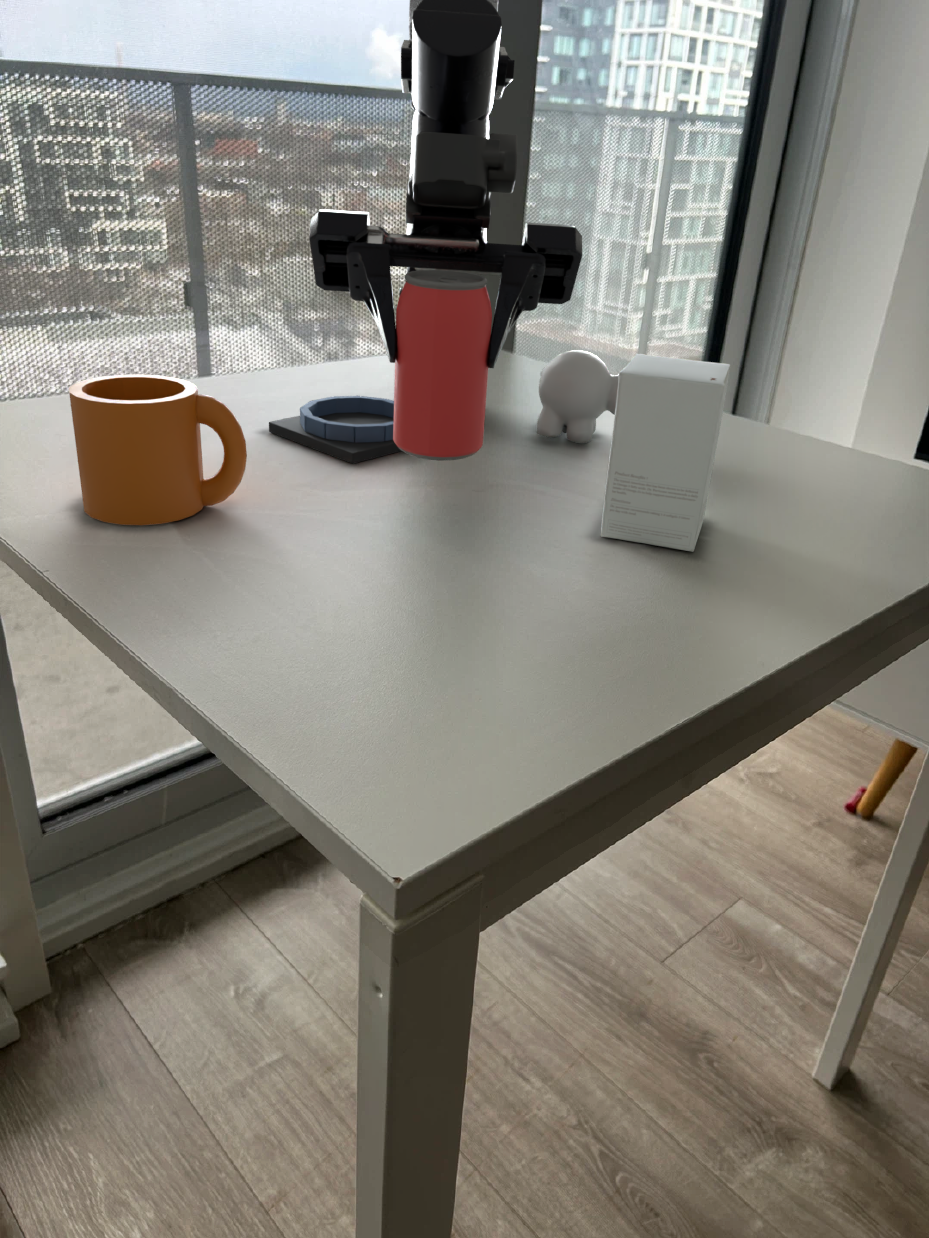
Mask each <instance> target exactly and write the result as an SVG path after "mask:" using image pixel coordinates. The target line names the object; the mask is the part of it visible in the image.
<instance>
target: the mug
mask: <svg viewBox="0 0 929 1238" xmlns="http://www.w3.org/2000/svg"><path fill="white" fill-rule="evenodd" d="M68 394H69V401H70V409H71V417H72V418H71V419H72V425H73V426H72V427H73V434H74V441H75V449H76V450H75V451H76V457H77V458H76V459H77V466H78V472H79V482H80V487H81V496H82V505H83V511H84V513H85V514H86V515H88V516H89V517H90V518H92V519H93V520H94V519H95V520H98V521H101V522H103V523H108V524H115V525H121V526H123V525H124V526H151V525H162V524H167V523H172V522H177V521H180V520H184V519H186V518H189V517H192V516H195V515H196V514H197V513H199V512H200V511H202V510H203V508H204V507H210V506H211V507H212V506H215V505H218V504H220V503H222V502H224V501H225V500H227V499H228V498H229V497H231V496H232V495H233V494H234V493H235V491H236V490H237V488H238V487H239V486H240V485H241V482H242V479H243V477H244V475H245V471H246V468H247V467H246V465H247V459H248V454H247V453H248V452H247V451H248V450H247V442H246V438H245V435H244V431H243V429H242V425H241V424H240V422H239V419H237V417H236V415H235V413H234V412H233V411H232V410H231V409H230V408H229V407H228V406H227V405H226V404H225V403H223V402H222V401H220V400H219V399H218V398H215V397H214V396H211V395H206V394H202V393H199V390H198V387H197V385H196V384H195V383H194V382H191V381H189V380H186V379H182V378H179V377H175V376H165V375H158V374H137V373H135V374H114V375H113V374H112V375H104V376H103V375H102V376H97V377H92V378H86V379H82V380H80V381H77V382H74V383H73V384H72V385H70V386H69V387H68ZM201 425H205V426H207V427H209V428H210V429H212V430H213V431H214V432H215V433H216V434H217V436H218V438H219V439H220V441H221V444H222V447H223V459H222V463H221V466H220V468H219V470H217V472H216V473H214V475H213V476H210V477H209V478H208V477H207V478H204V464H203V451H202V449H203V448H202V435H201Z"/></svg>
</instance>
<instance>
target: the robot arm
mask: <svg viewBox="0 0 929 1238" xmlns="http://www.w3.org/2000/svg"><path fill="white" fill-rule="evenodd" d="M408 5H409V7H408V10H409V11H408V39H404V40H403V42H402V45H401V47H400V81H401V89H402V93H403V94H410V95H411V108H412V109H413V111H414V113H413V117H412V129H411V147H410V148H411V149H410V153H411V154H410V166H409V167H410V169H409V180H408V181H407V183H406V197H405V224H407V225H406V234H404V233H390V232H388V231H387V230H386V229H385V228H384V227H382V226H379V225H371V220H370V212H369V211H355V210H354V211H353V210H336V209H322V208H321V209H319V210H318V211H317V212H316V213H315V214H314V215H313V216H312V217H311V218H310V225H309V226H310V227H309V237H308V240H309V247H310V254H311V261H312V268H313V273H314V274H313V275H314V280H315V285H316V286H317V287H318V288H320V289H322V290H323V291H329V292H345V293H347V292H348V293H349V297H350V298H351V299H352V300H354V301H357V302H363V303H364V305H365V306H366V308H367V310H368V311H369V313H370V315H371V317H372V319H373V320H374V322H375V324H376V327H377V330H378V333H379V335H380V338H381V341H382V344H383V346H384V350H385V353H386V355H387V358H388V361H389V363H391V364H395V362H396V314H395V306H394V295H393V294H394V293H393V283H392V269H391V267H397V268H398V267H399V268H400V267H401V268H407V270H406V274H407V273H408V272H411V271H418V270H449V271H460V272H467V273H473V274H477V275H480V276H492V277H493V276H494V277H500V280H499V286H498V293H497V297H496V302H495V309H494V315H493V319H492V324H491V337H490V345H489V359H488V369H494V368H495V367H496V364H497V362H498V360H499V357H500V354H501V352H502V349H503V347H504V345H505V342H506V340H507V338H508V335H509V334H510V332H511V330H512V329H513V327H514V325H515V324H516V323H517V321H518V319H519V318H520V316H521V315H522V313H523V312H533V311H534V310H536V309H537V308H538V305H539V304H549V305H563V304H565V303H567V302H569V301H571V299H572V296H573V291H574V289H575V284H576V281H577V277H578V272H579V269H580V265H581V262H582V259H583V235H582V233H580V231H579V230H578V229H577V227H576V226H575V225H574V224H573V225H572V224H562V223H561V224H559V223H546V222H545V223H543V222H527V221H525V225H524V230H523V231H524V232H523V237H522V241H521V242H522V243H521V244H511V243H510V244H508V243H496V242H495V243H494V242H493V243H492V242H487V229H490V223H491V215H492V213H491V210H492V209H491V208H492V193H502V194H512V193H513V192H514V188H515V184H516V181H517V179H516V178H517V170H518V169H517V167H518V135H517V134H509V133H495V132H494V133H493V132H492V133H490V120H489V119H490V118H489V115H490V114H492V109H493V105H494V100H502V97H504V93H505V89H506V88H507V86H508V85H509V84H511V82H512V81H513V80H514V74H515V61H516V60H515V59H511V57H510V56H509V52H507V50H506V47H505V46H501V45H500V44H501V35H502V27H503V26H502V25H503V24H502V17H501V16H500V15H499V14H500V13H499V0H409V4H408ZM402 289H403V287H400V288H399V292H398V293H399V295H398V298H399V297H400V295H401V292H402Z"/></svg>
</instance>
